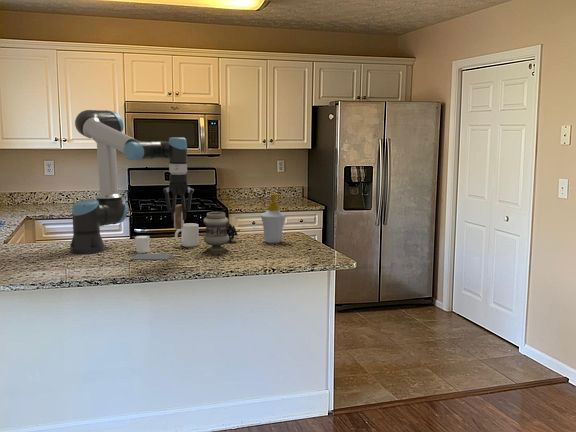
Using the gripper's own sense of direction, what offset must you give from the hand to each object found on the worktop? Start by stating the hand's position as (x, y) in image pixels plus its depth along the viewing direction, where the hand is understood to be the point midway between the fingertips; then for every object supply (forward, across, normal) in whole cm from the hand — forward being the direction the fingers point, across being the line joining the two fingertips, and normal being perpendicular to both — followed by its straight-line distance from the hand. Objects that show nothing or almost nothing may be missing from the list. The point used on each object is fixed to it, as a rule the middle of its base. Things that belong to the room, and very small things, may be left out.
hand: (178, 227), depth 249 cm
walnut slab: (0, 0, 0) cm, 0 cm away
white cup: (+14, -19, +14) cm, 28 cm away
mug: (+14, -1, +28) cm, 31 cm away
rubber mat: (+14, -12, +2) cm, 19 cm away
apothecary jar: (+14, +15, +16) cm, 26 cm away
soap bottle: (+14, +41, +38) cm, 58 cm away
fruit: (+14, +17, +38) cm, 44 cm away
